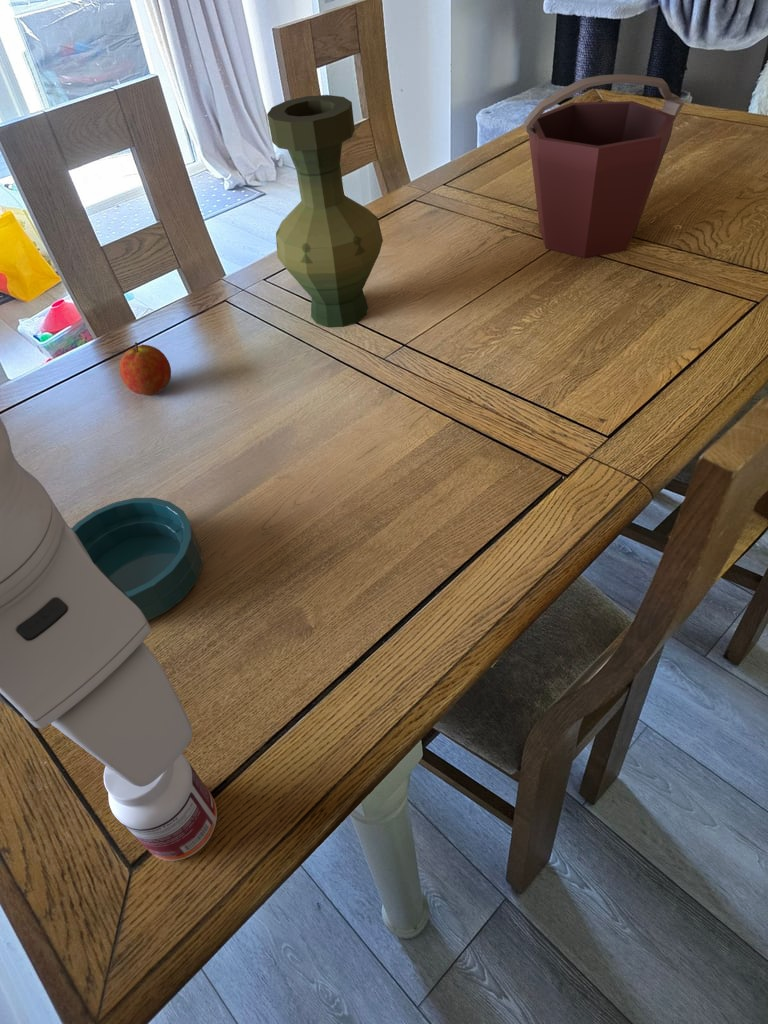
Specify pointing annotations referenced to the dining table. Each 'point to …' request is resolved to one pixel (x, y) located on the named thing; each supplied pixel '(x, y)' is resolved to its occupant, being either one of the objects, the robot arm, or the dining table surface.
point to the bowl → (144, 551)
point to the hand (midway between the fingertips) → (97, 712)
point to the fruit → (145, 370)
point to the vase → (324, 211)
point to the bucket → (596, 165)
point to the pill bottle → (165, 810)
